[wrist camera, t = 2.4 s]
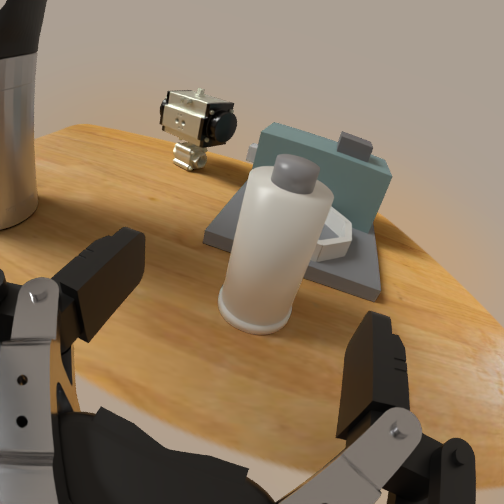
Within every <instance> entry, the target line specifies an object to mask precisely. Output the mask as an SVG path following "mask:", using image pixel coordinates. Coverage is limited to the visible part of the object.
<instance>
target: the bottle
mask: <svg viewBox="0 0 504 504" xmlns="http://www.w3.org/2000/svg"><path fill="white" fill-rule="evenodd" d="M319 172H320V167H319V166H318V165H317V164H315V163H314V162H312V161H310V160H308V159H305V158H303V157H299V156H296V155H291V154H280V155H278V156H277V158H276V161H275V165H274V166H261V167H257V168H254V169H252V170H251V171H250V173H249V177H248V181H247V185H246V190H245V194H244V198H243V202H242V207H241V211H240V215H239V220H238V224H237V228H236V233H235V237H234V241H233V246H232V250H231V255H230V259H229V263H228V268H227V272H226V277H225V281H224V284H223V285H222V287H221V289H220V292H219V297H218V308H219V311H220V313H221V315H222V316H223V318H224V319H225V320H226V321H227V322H228V323H229V324H230V325H232V326H233V327H235V328H237V329H239V330H241V331H243V332H246V333H250V334H257V335H265V334H271V333H274V332H277V331H279V330H280V329H282V328H283V327H284V326H285V325H286V323H287V322H288V319H289V317H290V315H291V312H292V303H293V301H294V299H295V296H296V294H297V292H298V289H299V287H300V284H301V282H302V279H303V277H304V275H305V272H306V270H307V267H308V265H309V262H310V260H311V257H312V255H313V252H314V250H315V247H316V245H317V242H318V239H319V237H320V234H321V232H322V229H323V226H324V224H325V221H326V219H327V216H328V213H329V211H330V208H331V205H332V203H333V200H334V195H333V193H332V191H331V190H330V189H329V188H328V187H327V186H326V185H325V184H323V183H322V182H320V181H319V180H317V178H318V175H319Z"/></svg>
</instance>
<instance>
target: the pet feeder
mask: <svg viewBox="0 0 504 504" xmlns="http://www.w3.org/2000/svg"><path fill="white" fill-rule="evenodd" d="M372 149H373V146H372V144H371V142H370V141H367V140H364V139H362V138H359V137H356V136H353V135H351V134H348V133H345V132H343V131H342V132H341V135H340V138H339V141H338V142H335V141H333V140H330V139H327V138H324V137H321V136H317V135H315V134H311V133H309V132H305V131H302V130H299V129H296V128H292V127H289V126H286V125H282V124H279V123H275V122H274V123H272V124H271V125H270V126H268V127H267V128H266V129H265V130H263V131H262V132H261V135H260V139H259V143H258V144H255V143H253V144H251V145H250V146H249V149H248V154H247V158H246V161H249V162H253V168H252V169H254V168H257V167H261V166H274V165H275V161H276V158H277V156H278V155H280V154H291V155H296V156H299V157H303V158H305V159H308V160H310V161H312V162H314V163H315V164H317V165H318V166H319V167H320V172H319V175H318V178H317V180H319V181H320V182H322V183H323V184H325V185H326V186H327V187H328V188H329V189H330V190H331V191H332V193H333V195H334V200H333V203H332V205H331V208H330V211H329V213H328V216H327V219H326V221H325V224H324V226H323V229H322V232H321V234H320V237H319V239H318V242H317V245H316V247H315V250H314V252H313V255H312V257H311V260H310V262H309V265H308V267H307V270H306V272H305V275H304V277H303V278H305V279H308V280H311V281H314V282H317V283H320V284H323V285H326V286H329V287H332V288H335V289H337V290H340V291H343V292H346V293H349V294H352V295H355V296H358V297H361V298H364V299H367V300H370V301H373V302H375V300H376V299H377V297H378V295H379V294H380V292H381V285H380V274H379V265H378V256H377V248H376V240H375V233H374V226H373V221H374V219H375V217H376V214H377V212H378V210H379V207H380V205H381V203H382V200H383V198H384V196H385V193H386V191H387V188H388V186H389V184H390V181H391V179H392V175H391V173H390V170H389V168H388V166H387V163H386V161H385V160H384V159H381V158H379V157H376V156H373V155H371V153H372ZM247 181H248V180H247ZM247 181H246V182H245V183H244V185H243V186H242V187H241V188H240V189H239V190H238V192H237V193H236V194H235V195H234V196H233V197H232V199H231V200H230V201H229V202H228V203H227V204H226V206H225V207H224V208H223V209H222V210H221V212H220V213H219V214H218V215H217V216H216V218H215V219H214V220H213V221H212V222H211V224H210V225H209V226H208V227H207V228H206V230H205V233H204V239H203V243H205V244H207V245H210V246H213V247H216V248H219V249H222V250H225V251H227V252H230V253H231V250H232V246H233V241H234V237H235V233H236V228H237V224H238V220H239V215H240V211H241V207H242V202H243V198H244V194H245V190H246V185H247Z"/></svg>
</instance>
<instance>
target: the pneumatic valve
mask: <svg viewBox="0 0 504 504" xmlns="http://www.w3.org/2000/svg"><path fill="white" fill-rule="evenodd" d="M204 91H205V90H204V89H200V88H199V89H198V91H197V92H195V91H191V90H187V91H185V90H184V91H168V93H167V97H166V98H165V99H164V100H163V102H162V104H161V106H160V115H161V117H160V124H161V125H163V126H162V130H163V131H165V132H167V133H170V134H172V135H174V136H177V137H179V140H185V141H188V143H187V142H185V143H176V144H175V148H174V150H173V154H174V156H175V158H174V159H173V163H174V164H176V165H178V166H180V167H182V168H183V169H185V170H187V171H191V170H193V169H195V168H203V167H204V166H205V164H206V162H207V156H206V154H205V152H207V148H206V147H211V146H217V145H223V144H226V141H228V140H229V139H230V138H231V137H232V136H233V134H234V132H235V130H236V127H237V119H236V117H235V115H234V114H233V112H234V111H233V106H234V103H232V102H228V101H225V100H222V99H219V98H215V97H212V96H209V95H205V94H204Z"/></svg>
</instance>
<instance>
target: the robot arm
mask: <svg viewBox="0 0 504 504" xmlns="http://www.w3.org/2000/svg"><path fill="white" fill-rule="evenodd" d="M46 2H47V0H7V1H6V3H5V5H4V6H3V7H2V8H1V10H0V230H1V229H5V228H8V227H11V226H14V225H16V224H18V223H20V222H22V221H24V220H25V219H27V218H28V217H29V216H30V215H32V213H33V212H34V211H35V210H36V208H37V206H38V194H37V184H36V169H35V151H34V92H35V74H36V73H35V72H36V62H37V51H38V43H39V36H40V32H41V27H42V22H43V18H44V12H45V7H46ZM144 265H145V235H144V233H142V232H139V231H136V230H133V229H130V228H128V227H123V228H121V229H120V230H119V231H118V232H116V233H115V234H114V235H113V236H109V235H108V236H106V237H103V238H101V239H98V240H96V241H94V242H93V243H92V244H91V245H89V246H88V247H87V248H86V250H83V251H82V252H81V253H80V254H79V256H76V257H75V258H74V259H73V260H72V261H70V262H69V263H68V264H67V265H66V266H65V267H63V268H62V269H61V270H60V271H59V272H58V273H57V274H55V275H54V276H53V277H52V278H51V279H49V278H44V277H40V278H35V279H32V280H30V281H28V282H26V283H25V284H24V285H23V286H22V285H18V284H13V283H8V282H6V279H5V276H4V273H3V271H2V270H1V269H0V504H374V503H375V502H376V501H377V500H378V498H379V497H380V496H381V491H380V490H381V488H383V489H385V490H387V491H389V492H388V499H387V504H475V501H476V471H475V455H474V452H473V450H472V448H471V446H470V445H469V444H468V443H467V442H466V441H464V440H463V439H460V438H452V439H450V440H448V441H447V442H445V443H444V444H442V443H440V442H438V441H436V440H434V439H432V438H430V437H428V436H426V435H425V434H423V433H422V428H421V425H420V422H419V420H418V419H417V417H416V416H415V415H414V414H413V413H412V412H410V405H409V388H408V374H407V363H406V353H405V347H404V345H403V343H402V341H401V339H400V337H399V335H395V334H392V326H391V319H390V317H388V316H385V315H382V314H379V313H376V312H373V311H368V312H367V314H366V315H365V317H364V318H363V320H362V322H361V323H360V325H359V327H358V328H357V330H356V332H355V333H354V335H353V337H352V338H351V340H350V342H349V344H348V346H347V349H346V352H345V358H344V369H343V380H342V390H341V399H340V408H339V416H338V424H337V432H336V438H339V439H344V440H346V448H345V449H344V450H343V451H341V452H340V453H339V454H338V455H337V456H336V457H334V458H333V459H332V460H331V461H330V462H329V463H327V464H326V465H325V466H324V467H322V468H321V469H320V470H319V471H318V472H316V473H315V474H314V475H313V476H311V477H310V478H309V479H307V480H306V481H305V482H303V483H302V484H301V485H299V486H298V487H297V488H295V489H294V490H292V491H291V492H290V493H288V494H287V495H285V496H284V497H283V498H281V499H280V500H278V501H277V502H274V500H273V499H272V498H271V496H270V495H269V494H268V493H267V492H266V491H265V490H264V489H263V488H262V487H261V486H259V485H258V484H257V483H255V482H254V481H253V480H251V479H249V478H248V477H246V476H247V473H248V470H249V469H248V468H245V467H242V466H239V465H236V464H233V463H230V462H227V461H224V460H221V459H218V458H215V457H212V456H208V455H200V454H193V453H186V452H180V451H175V450H169V449H167V448H165V447H163V446H162V445H161V444H159V443H158V442H157V441H155V440H154V439H153V438H151V437H150V436H149V435H147V434H146V433H145V432H144V431H143V430H141V429H140V428H139V427H137V426H136V425H135V424H134V423H132V422H130V421H128V420H126V419H124V418H122V417H120V416H118V415H116V414H114V413H112V412H111V411H109V410H107V409H105V408H103V407H100V409H99V410H98V412H97V413H96V414H94V413H88V412H81V411H80V407H79V403H78V399H77V394H76V383H75V366H74V345H73V342H74V341H75V340H76V339H77V338H80V339H82V340H83V341H85V342H87V343H89V342H90V341H91V339H92V338H93V337H94V336H95V335H96V333H97V332H98V331H99V330H100V328H101V327H102V326H103V325H104V324H105V322H106V321H107V320H108V319H109V318H110V317H111V315H112V314H113V313H114V312H115V311H116V309H117V308H118V307H119V306H120V305H121V304H122V302H123V301H124V300H125V299H126V298H127V297H128V295H129V294H130V293H131V292H132V291H133V290H134V289H135V287H136V286H137V285H138V284H139V282H140V281H141V279H142V276H143V273H144Z"/></svg>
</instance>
